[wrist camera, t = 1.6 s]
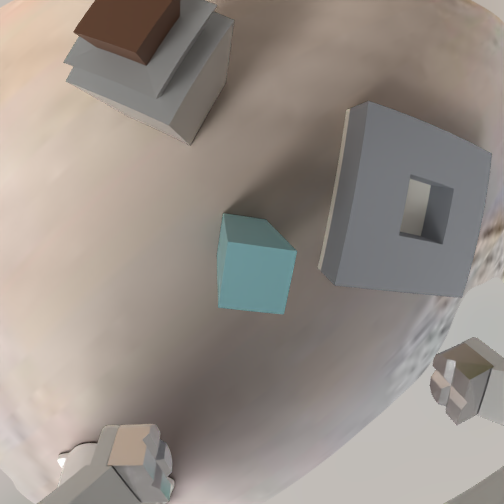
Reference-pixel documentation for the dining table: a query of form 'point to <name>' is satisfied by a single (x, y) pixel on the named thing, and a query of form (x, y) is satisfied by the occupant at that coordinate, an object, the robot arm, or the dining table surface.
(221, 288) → the peg
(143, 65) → the perfume bottle
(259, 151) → the dining table surface
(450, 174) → the socket block
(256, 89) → the dining table surface
